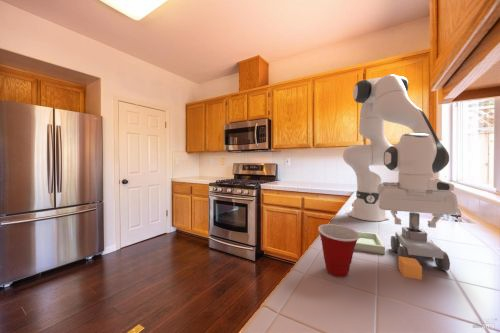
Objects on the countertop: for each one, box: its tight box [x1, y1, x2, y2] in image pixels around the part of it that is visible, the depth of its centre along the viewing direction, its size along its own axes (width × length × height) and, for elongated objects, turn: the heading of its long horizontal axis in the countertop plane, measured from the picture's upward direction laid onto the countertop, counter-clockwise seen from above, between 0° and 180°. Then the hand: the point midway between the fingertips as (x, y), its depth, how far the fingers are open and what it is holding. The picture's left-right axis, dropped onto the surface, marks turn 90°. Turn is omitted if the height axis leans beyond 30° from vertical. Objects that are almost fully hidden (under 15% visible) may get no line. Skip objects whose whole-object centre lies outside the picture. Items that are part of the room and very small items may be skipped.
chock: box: [398, 256, 423, 281], centre depth 58 cm, size 5×4×4 cm
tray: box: [354, 230, 386, 255], centre depth 77 cm, size 13×10×2 cm
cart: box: [390, 226, 451, 272], centre depth 65 cm, size 14×11×8 cm
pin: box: [408, 212, 421, 232], centre depth 68 cm, size 3×3×8 cm
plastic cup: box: [317, 223, 360, 278], centre depth 58 cm, size 11×11×12 cm
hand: (414, 225), depth 67 cm, fingers open, 8 cm apart
